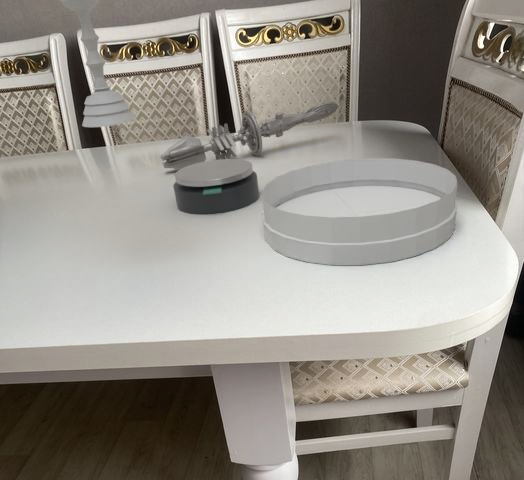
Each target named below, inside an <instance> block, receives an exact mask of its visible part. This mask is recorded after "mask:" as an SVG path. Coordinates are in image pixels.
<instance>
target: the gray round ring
mask: <svg viewBox="0 0 524 480" xmlns="http://www.w3.org/2000/svg"><path fill="white" fill-rule="evenodd" d="M457 192H458V180H457V175H455V174H454V173H453V172H452V171H450V170H449V169H448V168H445V167H442V166H440V165H437V164H433V163H429V162H424V161H420V160H415V159H414V160H413V159H405V158H387V157H386V158H385V157H384V158H381V157H379V158H378V157H373V158H372V157H371V158H354V159H346V160H345V159H344V160H336V161H329V162H323V163H318V164H317V163H316V164H312V165H309V166H308V165H307V166H305V167H301V168H298V169H294V170H291V171H289V172H286V173H284V174H281V175H279V176H276V177H275V178H274V179H272V180H270V181H269V182H268V183H266V184H265V186H264V187H263V188H262V190H261V200H262V208H263V213H262V214H261V217H262V225H263V231H264V240H265V242H266V243H267V244H268V245H269V247H270V248H271V249H272V250H273V251H275V252H277V253H279V254H281V255H283V256H285V257H287V258H291V259H294V260H298V261H302V262H305V263H309V264H319V265H327V266H328V265H329V266H366V265H376V264H387V263H393V262H396V261H401V260H405V259H409V258H415V257H417V256H420V255H422V254H425V253H427V252H430V251H431V250H434V249H437V248H438V247H440V246H441V245H442V244H444V243H445V242H447V241H448V240H450V239H451V237H452V235H453V234H454V232H455V229H456V222H457V220H456V219H457V211H458V206H457V202H456V201H457V199H456V198H457Z"/></svg>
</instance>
